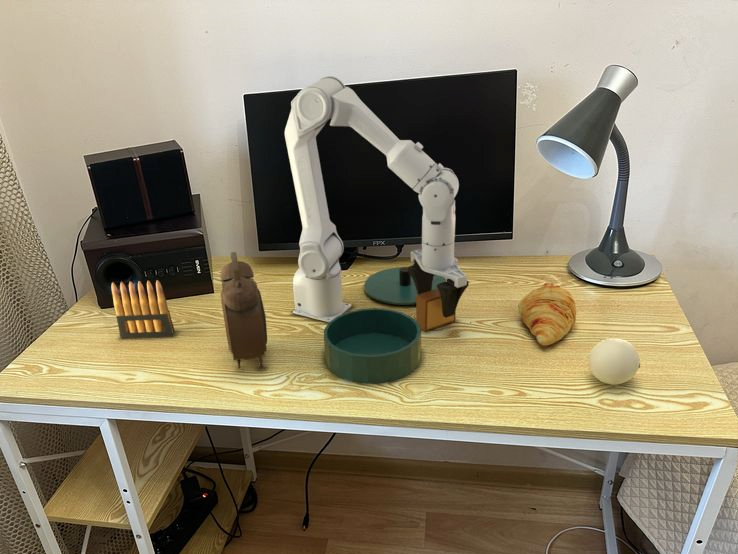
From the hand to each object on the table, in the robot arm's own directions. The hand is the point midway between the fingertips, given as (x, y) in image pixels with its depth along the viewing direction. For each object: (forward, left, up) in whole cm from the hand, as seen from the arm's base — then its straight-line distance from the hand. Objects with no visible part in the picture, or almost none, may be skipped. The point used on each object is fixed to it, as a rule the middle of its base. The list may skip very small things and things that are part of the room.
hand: (436, 307), depth 121 cm
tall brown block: (0, 0, -3) cm, 3 cm away
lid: (-12, +11, -3) cm, 17 cm away
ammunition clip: (-49, -29, -4) cm, 57 cm away
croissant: (+18, +9, -4) cm, 20 cm away
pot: (-5, -16, -3) cm, 17 cm away
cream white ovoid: (+32, -4, -4) cm, 32 cm away
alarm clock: (-25, -26, -4) cm, 36 cm away
